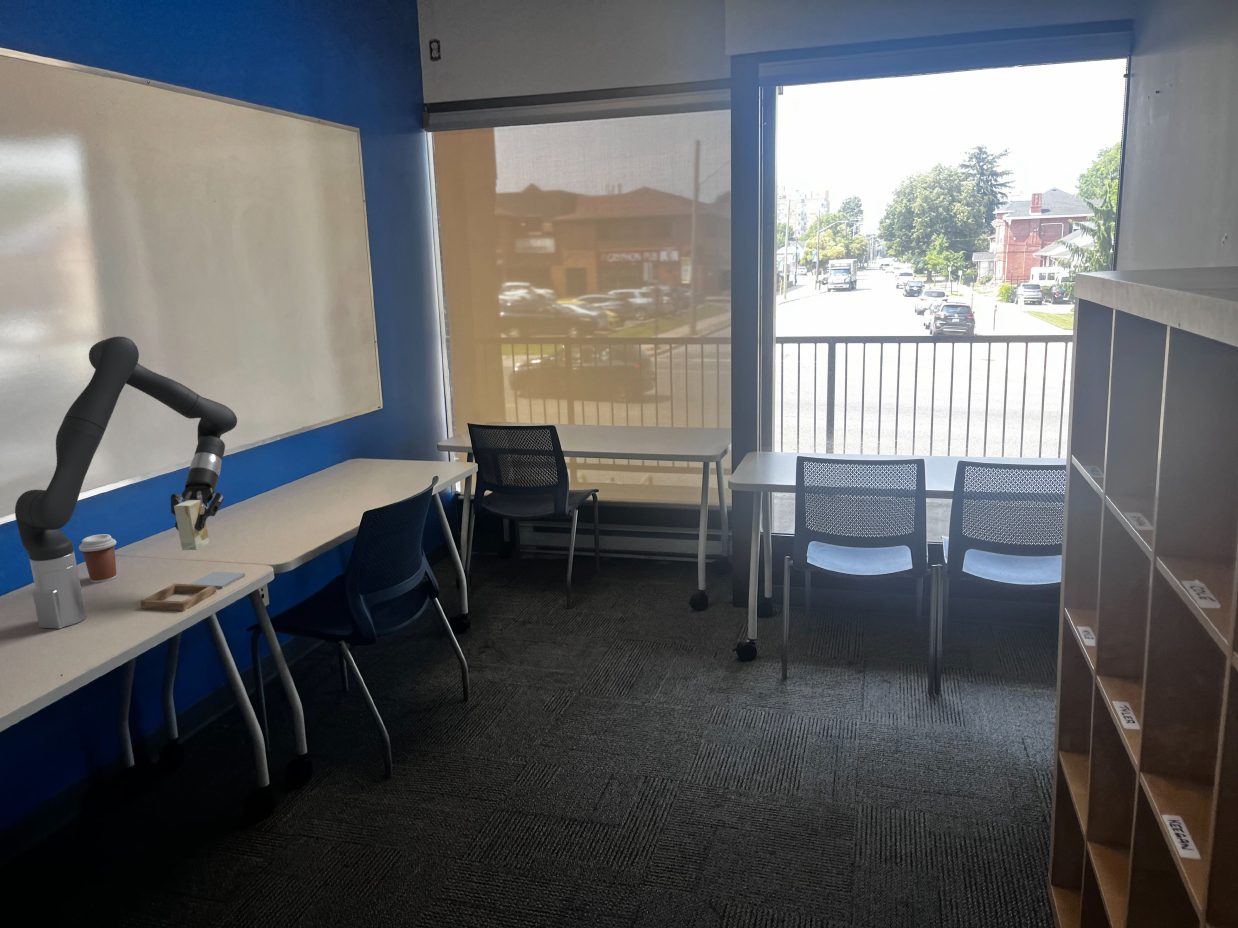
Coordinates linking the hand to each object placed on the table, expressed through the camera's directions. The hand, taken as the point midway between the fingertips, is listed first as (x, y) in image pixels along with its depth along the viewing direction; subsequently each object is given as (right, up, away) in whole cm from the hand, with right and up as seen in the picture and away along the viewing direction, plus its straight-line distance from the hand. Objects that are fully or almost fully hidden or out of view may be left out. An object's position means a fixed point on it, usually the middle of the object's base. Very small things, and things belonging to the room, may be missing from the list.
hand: (188, 529), depth 231 cm
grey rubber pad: (+2, -15, +11) cm, 19 cm away
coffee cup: (-32, -15, +17) cm, 40 cm away
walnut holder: (-2, -18, -2) cm, 18 cm away
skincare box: (0, -5, +3) cm, 6 cm away
